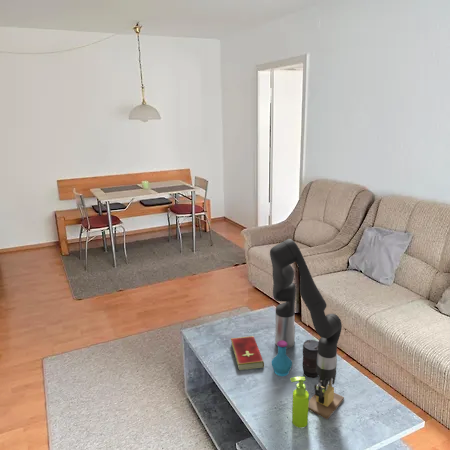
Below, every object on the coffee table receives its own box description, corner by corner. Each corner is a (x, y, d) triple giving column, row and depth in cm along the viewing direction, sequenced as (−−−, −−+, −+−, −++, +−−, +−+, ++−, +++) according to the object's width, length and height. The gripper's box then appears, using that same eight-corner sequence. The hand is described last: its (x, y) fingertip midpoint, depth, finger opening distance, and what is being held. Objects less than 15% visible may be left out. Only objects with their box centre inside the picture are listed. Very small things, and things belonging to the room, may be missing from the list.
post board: (321, 388, 172) (322, 377, 170) (343, 399, 165) (344, 388, 163) (304, 407, 162) (304, 395, 160) (327, 419, 155) (328, 407, 154)
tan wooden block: (316, 401, 163) (316, 388, 161) (322, 394, 166) (322, 382, 165) (327, 406, 160) (328, 394, 158) (333, 400, 163) (334, 387, 161)
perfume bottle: (279, 380, 177) (279, 351, 173) (267, 368, 185) (267, 340, 181) (296, 373, 181) (297, 344, 177) (284, 362, 189) (284, 334, 185)
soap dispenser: (287, 417, 157) (288, 373, 151) (305, 415, 158) (307, 372, 152) (291, 428, 151) (292, 384, 145) (309, 427, 152) (311, 382, 146)
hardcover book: (254, 342, 206) (254, 335, 205) (264, 368, 186) (264, 360, 185) (231, 345, 204) (230, 338, 203) (238, 371, 185) (238, 363, 183)
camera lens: (298, 374, 181) (299, 345, 177) (308, 365, 187) (309, 337, 182) (314, 382, 176) (315, 352, 171) (323, 372, 181) (325, 343, 177)
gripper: (326, 350, 165) (324, 385, 170) (308, 368, 155) (307, 404, 160) (343, 357, 160) (341, 393, 165) (326, 376, 150) (324, 413, 155)
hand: (324, 398), depth 163 cm, fingers closed on tan wooden block, 4 cm apart
